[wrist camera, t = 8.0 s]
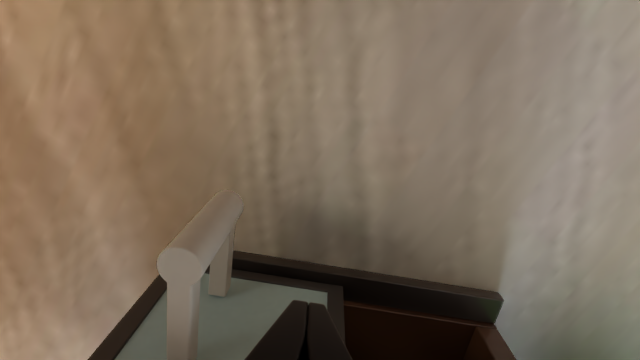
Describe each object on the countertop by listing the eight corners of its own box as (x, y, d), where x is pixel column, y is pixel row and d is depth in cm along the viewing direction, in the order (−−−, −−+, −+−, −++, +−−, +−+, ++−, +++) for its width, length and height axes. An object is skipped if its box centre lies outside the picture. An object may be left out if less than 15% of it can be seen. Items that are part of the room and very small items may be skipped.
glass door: (340, 297, 17) (345, 438, 11) (171, 270, 17) (70, 397, 11) (361, 199, 15) (383, 297, 9) (172, 168, 15) (50, 244, 9)
